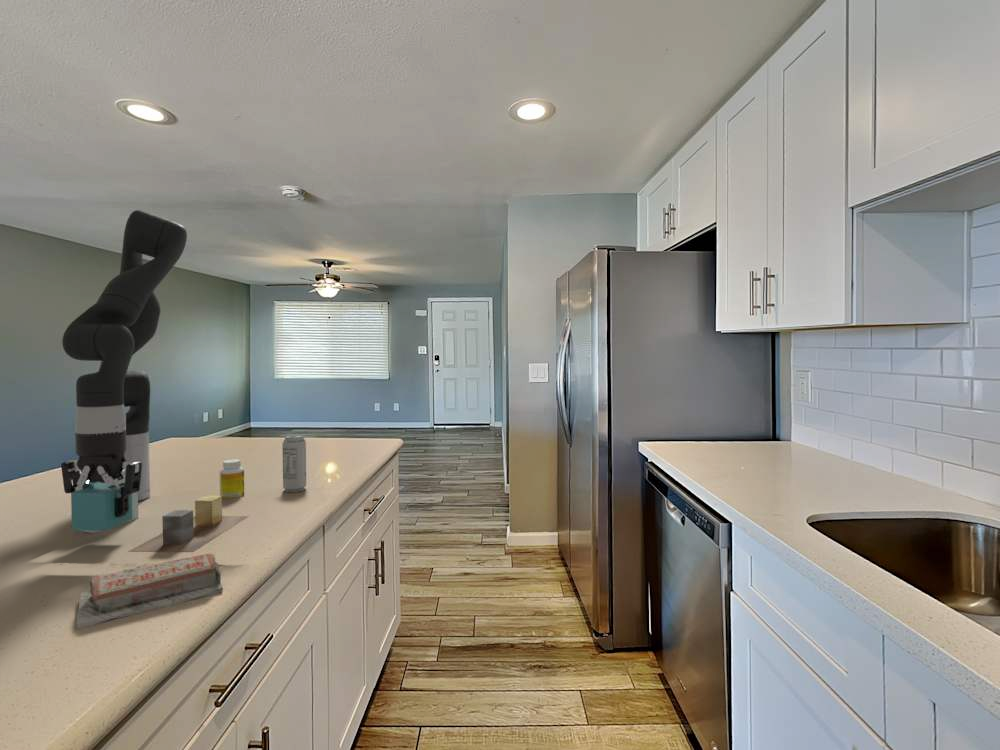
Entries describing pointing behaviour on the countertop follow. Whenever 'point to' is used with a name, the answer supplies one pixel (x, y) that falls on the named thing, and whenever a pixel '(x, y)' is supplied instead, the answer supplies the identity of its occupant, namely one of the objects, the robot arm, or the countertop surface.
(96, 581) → the packaged product
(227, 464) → the supplement bottle
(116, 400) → the robot arm
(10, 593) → the countertop surface
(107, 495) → the teal block
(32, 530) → the countertop surface
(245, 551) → the countertop surface
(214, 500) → the pale yellow block
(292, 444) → the energy drink can
